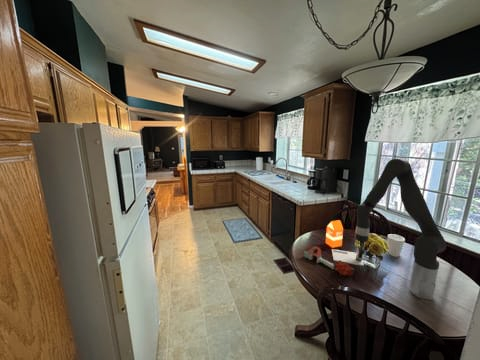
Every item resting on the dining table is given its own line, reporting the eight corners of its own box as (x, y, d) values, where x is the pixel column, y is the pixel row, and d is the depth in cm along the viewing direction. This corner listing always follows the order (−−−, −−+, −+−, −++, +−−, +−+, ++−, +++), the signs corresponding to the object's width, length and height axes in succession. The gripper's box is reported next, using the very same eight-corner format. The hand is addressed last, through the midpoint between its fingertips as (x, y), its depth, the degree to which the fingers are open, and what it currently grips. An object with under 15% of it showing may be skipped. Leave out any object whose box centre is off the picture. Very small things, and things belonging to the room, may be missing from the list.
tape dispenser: (335, 272, 125) (326, 252, 144) (336, 265, 123) (327, 246, 143) (307, 269, 127) (301, 250, 146) (308, 262, 125) (302, 244, 144)
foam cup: (405, 257, 135) (408, 240, 133) (392, 258, 135) (394, 240, 133) (395, 250, 145) (397, 234, 142) (382, 250, 145) (384, 234, 142)
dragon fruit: (331, 271, 126) (352, 280, 120) (331, 270, 119) (353, 280, 113) (335, 258, 128) (356, 266, 122) (335, 257, 121) (357, 266, 115)
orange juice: (325, 242, 157) (327, 219, 152) (334, 241, 159) (336, 218, 155) (332, 248, 149) (334, 223, 145) (341, 245, 152) (344, 221, 148)
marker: (362, 261, 130) (364, 245, 128) (356, 260, 132) (358, 244, 129) (361, 258, 134) (363, 242, 131) (355, 257, 135) (356, 241, 133)
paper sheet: (363, 266, 128) (364, 264, 127) (333, 260, 134) (333, 259, 134) (359, 254, 140) (359, 253, 140) (331, 249, 147) (331, 248, 146)
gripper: (371, 238, 121) (368, 263, 124) (366, 229, 134) (363, 251, 137) (357, 237, 123) (355, 261, 127) (353, 227, 136) (351, 249, 140)
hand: (359, 256), depth 132 cm, fingers closed on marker, 3 cm apart
